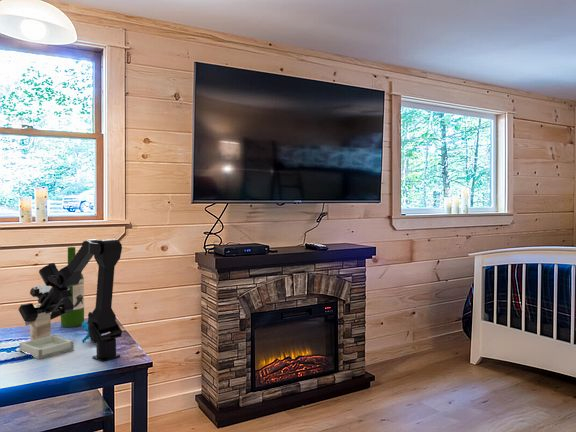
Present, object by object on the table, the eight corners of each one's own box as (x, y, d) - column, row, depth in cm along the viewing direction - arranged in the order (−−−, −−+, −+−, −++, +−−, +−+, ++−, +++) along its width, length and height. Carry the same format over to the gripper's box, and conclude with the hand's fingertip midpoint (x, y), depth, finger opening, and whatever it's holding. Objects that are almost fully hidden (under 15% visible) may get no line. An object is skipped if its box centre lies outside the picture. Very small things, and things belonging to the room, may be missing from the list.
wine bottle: (73, 328, 192) (72, 248, 191) (56, 326, 195) (54, 248, 194) (89, 322, 201) (87, 246, 200) (72, 320, 204) (70, 245, 202)
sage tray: (73, 349, 165) (73, 341, 165) (38, 359, 155) (38, 350, 155) (53, 343, 173) (53, 334, 173) (19, 351, 163) (19, 343, 163)
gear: (101, 340, 170) (81, 321, 170) (89, 353, 169) (68, 334, 169) (107, 336, 181) (88, 318, 180) (96, 347, 180) (76, 329, 179)
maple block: (50, 339, 177) (50, 305, 176) (37, 343, 173) (36, 307, 172) (43, 337, 180) (43, 303, 179) (30, 340, 176) (29, 305, 175)
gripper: (69, 275, 181) (51, 300, 187) (20, 282, 165) (3, 310, 171) (82, 297, 178) (64, 322, 184) (34, 307, 162) (16, 334, 168)
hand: (38, 321), depth 177 cm, fingers open, 9 cm apart
